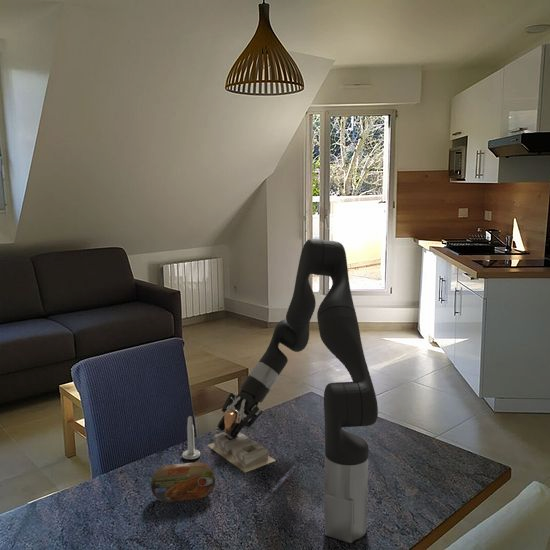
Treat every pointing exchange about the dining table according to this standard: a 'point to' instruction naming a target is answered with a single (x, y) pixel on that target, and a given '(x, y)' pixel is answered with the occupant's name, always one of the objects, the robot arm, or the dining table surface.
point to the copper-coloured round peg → (230, 421)
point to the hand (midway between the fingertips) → (225, 432)
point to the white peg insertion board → (241, 451)
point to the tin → (183, 482)
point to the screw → (190, 442)
